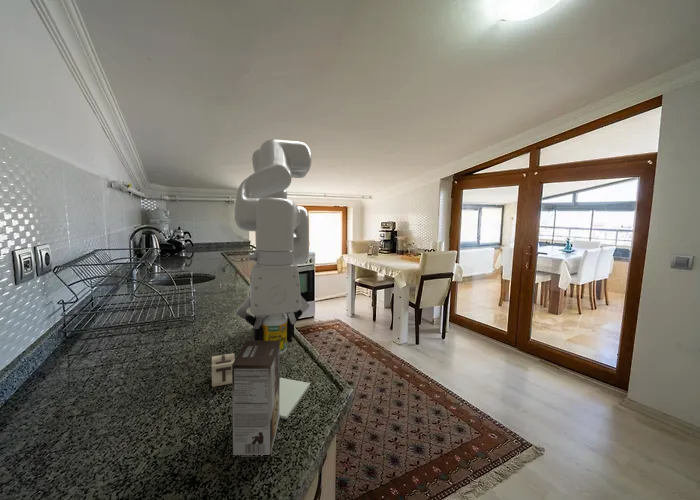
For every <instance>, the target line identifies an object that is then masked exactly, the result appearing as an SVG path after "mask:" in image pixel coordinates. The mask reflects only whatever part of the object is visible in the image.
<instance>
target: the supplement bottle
mask: <svg viewBox="0 0 700 500" xmlns="http://www.w3.org/2000/svg"><path fill="white" fill-rule="evenodd" d="M261 327H262V328H263V341H280V355H282V354H284V353H286V351H287V350H288V341H287V317H286V316H285V315H283V314H278V315H269V316H264V317H263V319H262V322H261Z"/></svg>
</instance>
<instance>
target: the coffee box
mask: <svg viewBox="0 0 700 500" xmlns="http://www.w3.org/2000/svg"><path fill="white" fill-rule="evenodd" d="M280 357H281V354H280V341H260V340H259V341H254V340H246V341H245V342H244V344H243V346H242V347H241V349H240V351H239V352H238V354H237V356H235V361H234V362H233V364H232V383H231V384H232V385H231V386H232V387H231V389H232V390H231V391H232V394H231V395H232V396H231V397H232V456H233V455H257V456H256V457H259V456H258V455H261V456H260V457H264V456H263V455H270V454H271V455H272V453H273V452H272V451H273V449H274V444H275V443H274V442H275V439H276V434H277V431H278V426H279V422H280V419H281V418H280V416H279V398H280V378H281V377H280V373H281V372H280V371H281V370H280V369H281V367H280V366H281V364H280V361H281V360H280ZM272 448H273V449H272ZM271 452H272V453H271ZM271 455H270V456H271Z"/></svg>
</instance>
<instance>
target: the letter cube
mask: <svg viewBox="0 0 700 500" xmlns="http://www.w3.org/2000/svg"><path fill="white" fill-rule="evenodd" d="M235 359H236V356H235V353H226V354H221V355H220V354H219V355H213V356H212V357H211V387H212V388H215V387H218V386H219V387H221V386H225V385H231V384H232V364H233V362H234V361H235Z"/></svg>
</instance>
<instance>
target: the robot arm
mask: <svg viewBox="0 0 700 500" xmlns="http://www.w3.org/2000/svg"><path fill="white" fill-rule="evenodd" d="M251 161H252V167H253V171H254V172H253V173H252V174H250V175H249V176H248V177H246V178H245V179H243V181H241V182H240V184H239V186H238V189H237V192H236V198H235V204H234V205H235V206H234V220H235V223H236V226H237V227H238V228H239V230H242V231H245V232H255V251H253V252H252V253H247V254H248V255H247V256H248V259H247V260H249V261H254V262H255V264H253V265H252V267H251V271H250V279H249V288H248V289H249V291H248V297H246V299H245V300H244V301H243V302H242V303H241V305H240V306H239V307H238V308H237V309H236V315H237V316H239V317H240V318H242V319H244V320H245V321H246V322H247V323H248V324H250V326H253V341H259V340H260V341H263V328H262V327H261V322H262V319H263V317H264V316H269V315H278V314H283V315H285V316H286V317H287V343H292V341H293V337H295V324H296V323H297V321H298V320H299V318H300V317H301V316H302V315H303V313H305V312H306V311H307V310H308V309H309V308H310V304H309V303H308V301H307V300H306V299H305V298H304V297H303V296H302V294H301V282H300V273H299V267H298V265H305V263H307V262H308V259H309V255H310V254H309V253H310V252H309V251H310V219H309V213H308V212H309V211H308V210H307V209H306V207H304V206H303V205H302V206H301V205H298V204H297V203H296V202H295V201H294V200H292V199H288V192H287V189H288V188H289V187H290V185H291V183H292V179H293V178H295V179H303V178H306V175H307V174H308V172H310V169H311V166H312V153H311V149H310V147H309V146H308V144H307V143H305V142H303V141H297V140H287V139H277V138H276V139H274V138H271V139H268V140H265V141H264V142H262V144H261V145H260V148H258V149H256V150H255V151H254V152H253V153H252V157H251ZM294 235H295V236H294ZM247 310H250V312H251V313H249V312H248V311H247Z"/></svg>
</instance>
